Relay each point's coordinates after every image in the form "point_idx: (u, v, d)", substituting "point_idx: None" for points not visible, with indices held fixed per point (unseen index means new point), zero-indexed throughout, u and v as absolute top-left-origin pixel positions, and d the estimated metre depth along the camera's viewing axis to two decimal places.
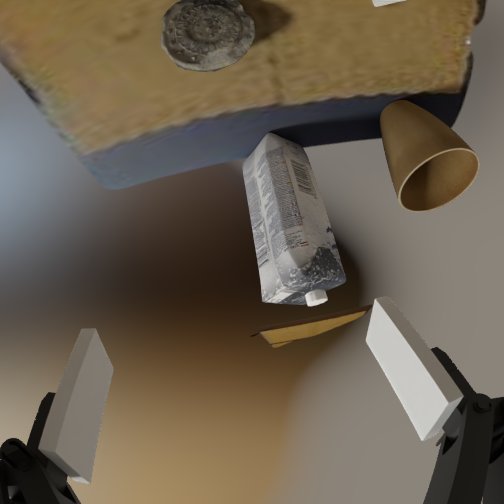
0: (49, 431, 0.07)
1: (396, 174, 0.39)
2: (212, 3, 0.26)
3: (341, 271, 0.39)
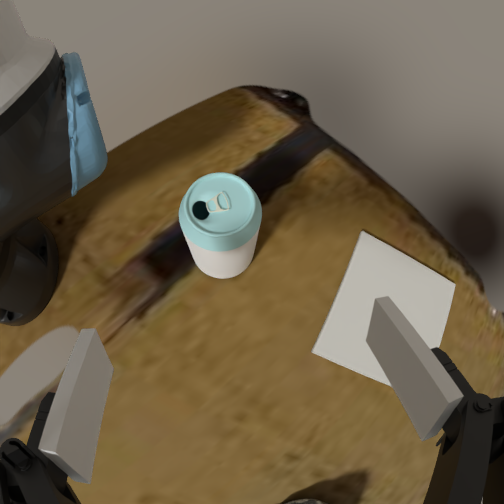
0: (49, 431, 0.07)
1: None
2: None
3: None
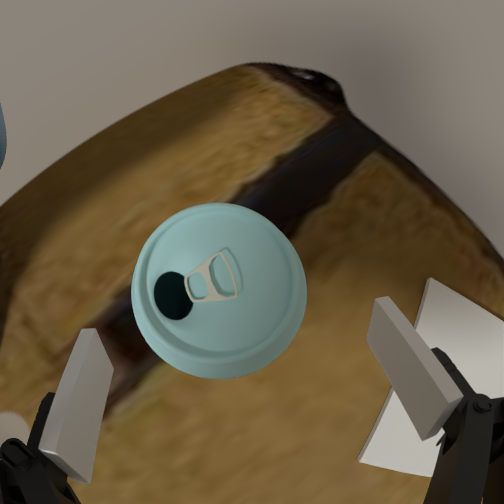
0: (49, 431, 0.07)
1: None
2: None
3: None
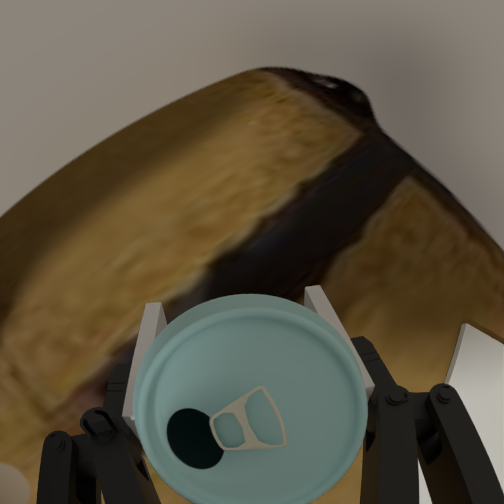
0: (132, 397, 0.09)
1: None
2: None
3: None
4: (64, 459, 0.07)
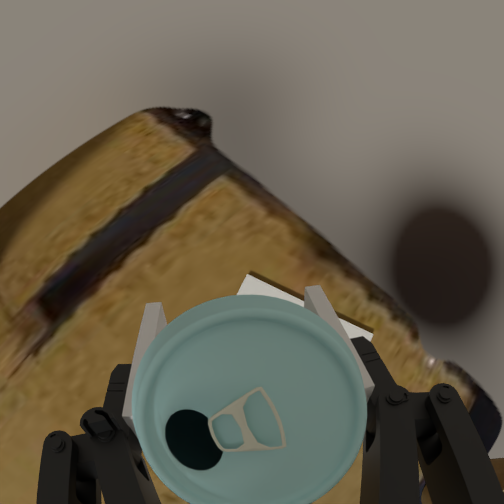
0: None
1: None
2: None
3: None
4: (64, 459, 0.07)
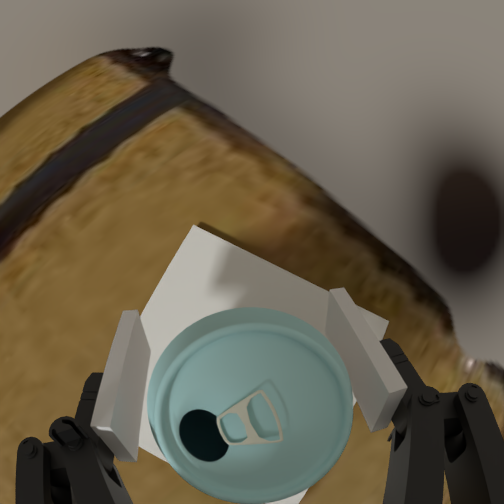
0: (101, 408, 0.09)
1: None
2: None
3: None
4: (37, 464, 0.06)
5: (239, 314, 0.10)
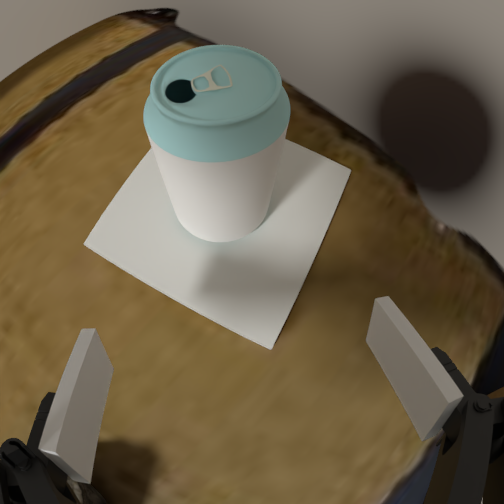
0: (49, 431, 0.07)
1: None
2: None
3: None
4: None
5: None
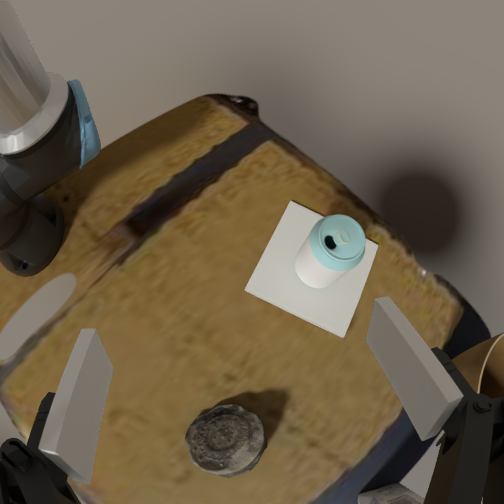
0: (49, 431, 0.07)
1: None
2: (218, 415, 0.37)
3: None
4: None
5: None
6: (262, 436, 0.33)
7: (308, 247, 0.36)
